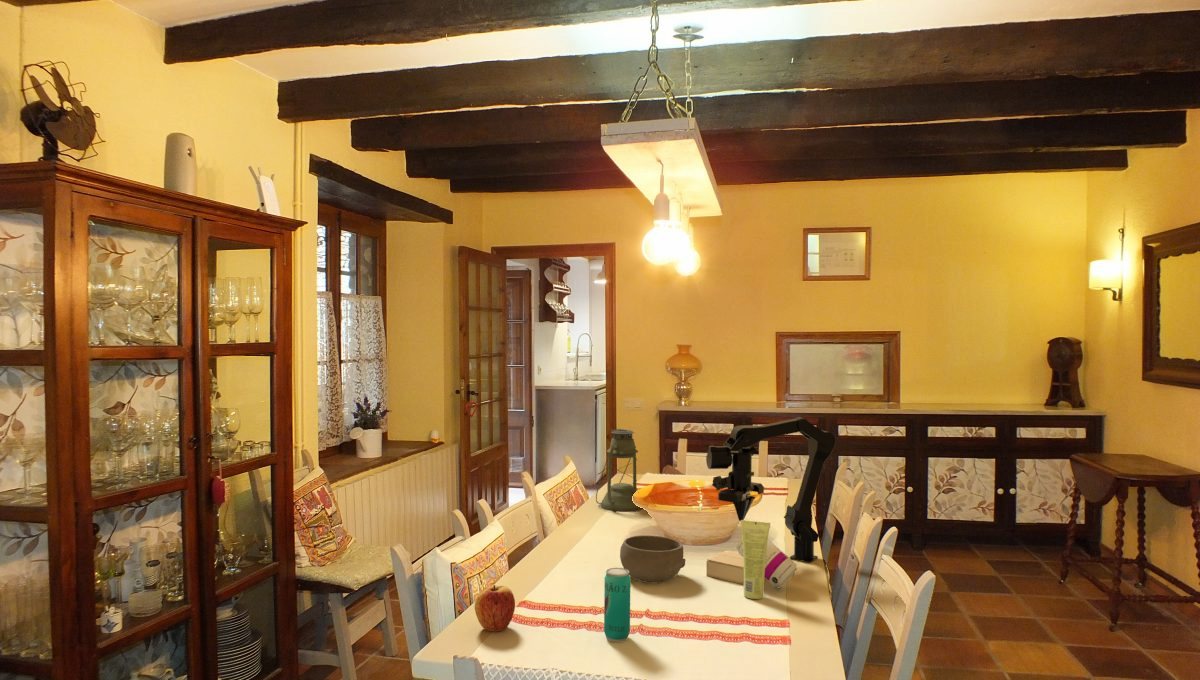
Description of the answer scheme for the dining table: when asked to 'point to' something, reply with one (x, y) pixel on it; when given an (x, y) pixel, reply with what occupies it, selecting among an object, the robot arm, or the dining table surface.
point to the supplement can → (775, 565)
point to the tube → (754, 557)
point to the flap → (731, 554)
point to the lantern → (622, 492)
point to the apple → (495, 607)
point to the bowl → (652, 558)
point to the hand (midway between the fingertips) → (741, 520)
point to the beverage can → (617, 604)
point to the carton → (726, 568)
